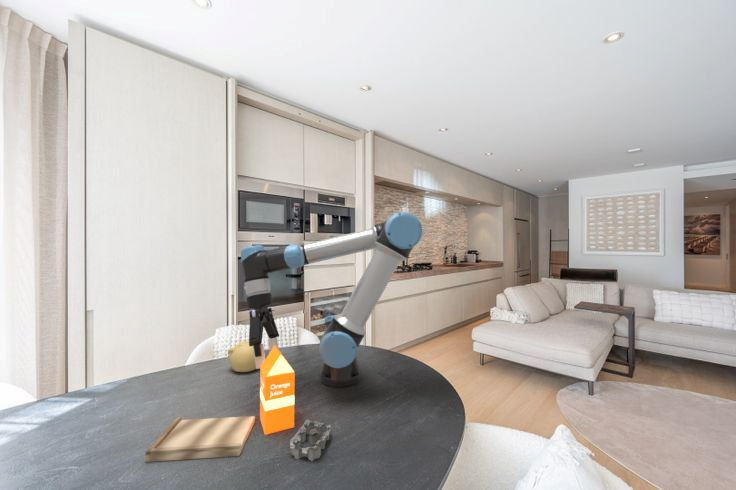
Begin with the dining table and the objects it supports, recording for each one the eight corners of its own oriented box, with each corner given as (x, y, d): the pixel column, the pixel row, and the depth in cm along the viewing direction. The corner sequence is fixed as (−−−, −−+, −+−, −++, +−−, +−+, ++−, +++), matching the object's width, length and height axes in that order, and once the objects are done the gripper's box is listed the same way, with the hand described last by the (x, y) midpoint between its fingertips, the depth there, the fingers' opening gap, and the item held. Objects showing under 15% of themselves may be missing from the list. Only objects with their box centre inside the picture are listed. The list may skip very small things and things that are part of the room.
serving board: (254, 421, 84) (255, 413, 84) (239, 455, 70) (239, 445, 70) (177, 425, 82) (177, 417, 82) (145, 462, 68) (145, 451, 68)
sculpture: (249, 361, 128) (249, 336, 128) (267, 368, 121) (267, 341, 121) (223, 370, 119) (223, 342, 119) (240, 378, 112) (241, 348, 112)
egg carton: (317, 464, 68) (317, 446, 68) (286, 459, 69) (286, 440, 69) (333, 436, 78) (333, 419, 78) (306, 431, 80) (306, 415, 80)
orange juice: (264, 435, 78) (265, 356, 78) (259, 418, 86) (260, 346, 86) (294, 427, 81) (295, 351, 82) (287, 411, 89) (288, 342, 90)
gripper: (260, 296, 109) (269, 357, 106) (229, 296, 85) (240, 375, 81) (281, 292, 109) (290, 352, 106) (256, 291, 85) (268, 369, 81)
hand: (268, 363), depth 94 cm, fingers open, 13 cm apart
